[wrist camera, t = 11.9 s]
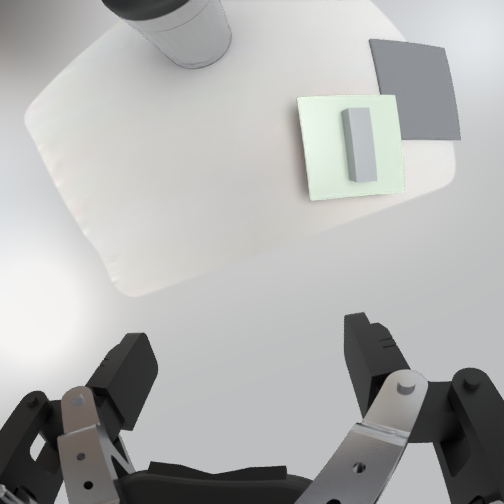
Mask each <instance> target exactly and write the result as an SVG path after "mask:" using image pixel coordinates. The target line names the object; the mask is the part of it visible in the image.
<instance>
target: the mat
mask: <svg viewBox="0 0 504 504" xmlns="http://www.w3.org/2000/svg"><path fill="white" fill-rule="evenodd" d="M369 43H370V47H371V51H372V55H373V60H374V64H375V69H376V74H377V79H378V84H379V89H380V95H395V98H396V104H397V111H398V118H399V125H400V133H401V139H435V140H461V136H460V127H459V120H458V113H457V105H456V100H455V94H454V88H453V83H452V78H451V73H450V69H449V65H448V61H447V57H446V53H445V49H444V48H441V47H435V46H429V45H423V44H416V43H409V42H401V41H391V40H379V39H370V40H369Z"/></svg>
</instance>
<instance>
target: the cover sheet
mask: <svg viewBox="0 0 504 504" xmlns="http://www.w3.org/2000/svg"><path fill="white" fill-rule="evenodd" d="M297 106H298V112H299V119H300V126H301V133H302V140H303V147H304V155H305V163H306V171H307V179H308V188H309V198H310V201H315V200H324V199H334V198H345V197H355V196H367V195H379V194H391V193H405V178H404V164H403V152H402V142H401V133H400V125H399V118H398V111H397V104H396V98H395V95H327V96H310V97H297Z"/></svg>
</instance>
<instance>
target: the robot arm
mask: <svg viewBox="0 0 504 504" xmlns="http://www.w3.org/2000/svg"><path fill="white" fill-rule="evenodd" d="M102 2H103V3H104V4H105V6H107V8H109V9H110V10H111V11H112V12H114V13H115V14H116V15H118V16H119V17H121V19H123V20H124V21H125V22H126V23H128V24H129V25H130V26H132V27H133V28H134V29H135V30H137V31H138V32H139V33H140V34H142V35H143V36H144V37H145V38H146V39H148V40H149V41H150V42H151V43H152V44H154V45H155V46H156V47H157V48H158V49H159V50H161V51H162V52H163V53H164V54H165V55H166V56H168V57H169V58H170V59H171V60H172V61H173V62H175V63H176V64H178V65H180V66H182V67H186V68H200V67H204V66H207V65H210V64H212V63H214V62H215V61H217V60H218V59H219V58H221V57H222V56H223V55H224V53H225V52H226V51H227V49H228V47H229V45H230V42H231V31H230V28H229V25H228V22H227V18H226V16H225V13H224V10H223V7H222V4H221V1H220V0H102ZM344 355H345V361H346V364H347V368H348V371H349V374H350V378H351V381H352V384H353V387H354V391H355V394H356V397H357V401H358V404H359V407H360V411H361V414H362V418H363V421H362V422H361V423H356V424H355V425H354V426H353V427H352V428H351V430H350V431H349V433H348V434H347V436H346V437H345V439H344V440H343V442H342V443H341V445H340V446H339V447H338V449H337V450H336V452H335V453H334V454H333V456H332V457H331V459H330V460H329V461H328V463H327V464H326V465H325V467H324V468H323V469H322V470H321V472H320V473H319V474H318V476H317V477H316V478H315V479H314V481H313V480H310V479H307V478H304V477H300V476H296V475H289V474H287V468H286V466H272V467H250V468H245V469H240V470H235V471H231V472H225V473H219V474H210V473H206V472H203V471H199V470H196V469H192V468H189V467H186V466H183V465H177V464H167V463H160V462H152V461H151V462H150V465H149V468H148V470H143V471H138V472H136V471H135V469H134V467H133V465H132V462H131V460H130V458H129V455H128V453H127V450H126V448H125V445H124V443H123V440H122V438H121V436H120V435H119V432H120V430H121V429H122V430H129V431H132V430H133V428H134V426H135V423H136V421H137V419H138V417H139V414H140V412H141V410H142V408H143V405H144V403H145V401H146V399H147V397H148V394H149V392H150V390H151V388H152V385H153V383H154V381H155V379H156V377H157V374H158V364H157V361H156V358H155V355H154V353H153V350H152V348H151V345H150V342H149V340H148V337H147V335H146V334H145V333H127V334H126V335H125V337H124V338H123V339H122V341H121V342H120V344H118V345H116V346H115V347H114V348H113V349H111V350H110V351H109V352H108V354H107V355H106V356H105V358H104V360H103V361H102V362H101V364H100V367H99V366H98V368H97V369H96V371H95V372H94V374H93V375H92V377H91V378H90V379H89V381H88V383H87V384H86V385H85V386H78V387H74V388H72V389H70V390H69V391H67V392H66V393H65V394H64V396H63V397H62V399H61V400H53V401H49V400H48V398H47V396H46V395H45V393H44V392H42V391H33V392H31V393H29V394H27V395H26V396H25V397H24V398H23V399H22V400H21V401H20V403H19V404H18V406H17V407H16V408H15V410H14V411H13V413H12V414H11V416H10V417H9V418H8V420H7V421H6V423H5V424H4V426H3V427H2V429H1V430H0V504H54V502H55V499H56V497H57V494H58V492H59V490H60V487H61V485H62V483H63V480H64V483H65V487H66V492H67V497H68V500H69V504H377V502H378V500H379V499H380V497H381V495H382V493H383V491H384V490H385V488H386V486H387V484H388V482H389V481H390V478H391V477H392V475H393V473H394V471H395V469H396V467H397V465H398V463H399V461H400V459H401V457H402V455H403V453H404V451H405V449H406V446H407V444H408V443H429V442H433V445H434V448H435V451H436V454H437V457H438V460H439V464H440V466H441V469H442V473H443V476H444V480H445V483H446V487H447V490H448V494H449V497H450V501H451V504H504V400H503V399H502V397H501V395H500V394H499V392H498V391H497V389H496V387H495V386H494V384H493V383H492V381H491V380H490V378H489V377H488V376H487V374H486V373H484V372H483V371H481V370H479V369H476V368H465V369H461V370H459V371H458V372H457V373H456V374H455V375H454V377H453V379H452V381H449V382H430V381H427V379H426V378H425V377H424V376H423V375H422V374H421V373H419V372H417V371H414V370H411V369H410V367H409V365H408V364H407V362H406V360H405V358H404V357H403V355H402V353H401V351H400V349H399V348H398V346H396V342H395V341H394V339H392V336H391V334H390V332H389V331H388V329H387V328H386V327H384V326H382V325H381V324H380V323H373V324H370V322H369V320H368V318H367V317H366V315H365V313H364V312H362V313H355V314H349V315H345V317H344ZM38 433H39V434H40V435H41V436H42V438H43V439H44V440H45V441H46V443H45V445H44V446H43V448H42V450H41V452H40V454H39V456H38V458H37V459H36V461H34V460H33V459H32V457H31V455H30V447H31V445H32V443H33V442H34V440H35V438H36V436H37V435H38Z"/></svg>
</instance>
